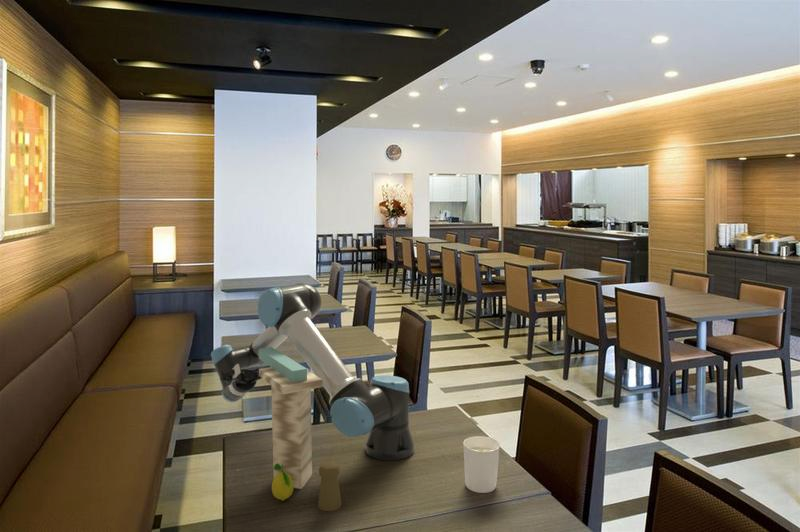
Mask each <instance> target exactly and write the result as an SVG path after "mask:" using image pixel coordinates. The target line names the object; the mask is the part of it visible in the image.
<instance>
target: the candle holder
mask: <svg viewBox="0 0 800 532" xmlns="http://www.w3.org/2000/svg"><path fill="white" fill-rule="evenodd" d="M462 443H463V444H462V445H463V459H464V460H463V464H464V482H465V483H464V484H465V487H466V489H468V490H470V491H472V492H473V493H474V492H475V493H477V494H487V493H491V492H493V491H494V490H496V488H497V482H498V481H497V480H498V470H499V456H500V448H501V445H500V442H499V441H498V440H497V439H494V437H493V438H492V437H489V436H484V435H475V436H470V437H467V438H465V439H464V440H463V442H462Z"/></svg>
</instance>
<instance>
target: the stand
mask: <svg viewBox="0 0 800 532" xmlns="http://www.w3.org/2000/svg"><path fill="white" fill-rule="evenodd" d="M259 376H260V377H261V378H262V379H263V380H264V381H265V382H267V384H269V385H270V386H271V390H270V391H271V424H272V425H271V427H272V465H273V466H272V467H273V474H272V475H273V478H274V477H275V476H276V475H277V474H278V473H281V472H282V469H281V470H275V469H274V466H275V464H277V463H278V464H279V465H280V466H282V464H283V472H285V473H288V474H289V475H290V476H291V478H292V480H293V489H300V490H302V489H303V488H304V486H305V485H306V484H307V483H308V481H309V480H310V479H311V477H312V475H313V454H312V453H313V448H312V447H313V445H312V444H313V442H312V440H313V439H312V391H311V390H313V389H318V388H322V387H323V388H324V386H323V380H322V379H321V378H319V377H318V376H316V375H315V374H314V372H311V371H310V370H308V369H307V380H303V381H298V382H292V381H290V380H289V379H287V378H286V377H284V376H283V375H282V374H280V373H279V372H277V371H276V370H274V369H273V368H272V367H268V368H265V367H262V368H261V369H259ZM262 379H261V380H262Z"/></svg>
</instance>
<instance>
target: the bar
mask: <svg viewBox="0 0 800 532" xmlns="http://www.w3.org/2000/svg"><path fill="white" fill-rule="evenodd" d="M259 359H260V360H262V361H263V362H264V363H265V364H266V365H267V366H270V367H272V368H273V369H274V370H276V371H277V372H279V373H280V374H282V375H283V376H284V377H286V378H287V379H289V380H290V381H292V382H298V381H303V380H307V370H308V369H307V367H305V366H303V365H301V364H300V363H299V362H297V361H295V360H294V359H292V358H290V357H288V356H287V355H286V354H284V353H282V352H280V351H279V350H277V348H276V349H274V348H272V347H268V348H261V349H259ZM264 363H263V364H264Z"/></svg>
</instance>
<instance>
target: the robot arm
mask: <svg viewBox="0 0 800 532" xmlns="http://www.w3.org/2000/svg"><path fill="white" fill-rule="evenodd" d="M321 296H322V295H321V294H320V292H319V291H318V290H317V288H315V287H314V286H312V285H311V284H308V283H296V284H290V285H285V286H279V287H277V286H274V287H272V288H268V289H265V290H264V291H263V292H262V293H261V294H260V296H259V298H258V301H257V315H258V318H259V320H260V322H261V324H262V325H263V326H265V327H267V328H266V329H264V331H263V332H262V333H260V335H258V337H256V339H255V340H253V342H251V343H250V344H249V345H247V346H243V347H239V348H236V349H234V348H233V347H232V346H231V344H224V345H221V346H219V347H216V348H214V349H213V350H212V351H211V353H210V357H211V360H212V363H213V365H214V368H215V370H216V373H217V375H218V377H219V381H220V383H221V387H222V389H221V396H222V398H223V399H224V400H225V401H227V402H228V403H236V402H238V401H239V400H241V399H243V398H244V397H245V395H247V394H248V393H249V392H250V391H251V390H252V389H254V388H255V386H256V384H257V381H260V380H262V378H261V377H260V376H259V369H262V368H259V367H258V368H256V369H249V368H251V367H255V366H257V365H262V364H264V362H263V361H262V360H260V359H259V349H261V348H268V347H272V348H274V349H276V350H277V349H278V347H279V346H281V344H283V342H285V341H286V340H287V339H289V341H290V342H291V343H292V345H293V346H294V348H295V349H296V350H297V351H298V353H299V354H300V356H301V357H302V358H303V361H305V363H306V364H307V365H308V367H309V368H310V370H311V371H312V373H313V374H314V375H316V376H318V377H319V378H321V379H322V380H323V388H324V390H326V392H327V393H328V395H329V401H328V404H329V406H330V411H329V414H330V416H331V418H330V419H331V422H332V425H333V426H334V428H336V430H337V431H338V432H339V433H340V434H341V435H343V436H345V437H347V438H358V437H361V436H365V435H367V437H366V441H365V452H366V454H367V455H368V456H369V457H371V458H374V459H375V460H379V461H391V462H392V461H400V460H403V459H406V458H409V457H410V456H412V455H413V454H414V453H415V441H414V438H413V435H412V432H411V428H410V387H409V382H408V381H407V379H405V378H403V377H400V376H396V375H387V374H386V375H375V376H373V377H371V381H370V386H367V385H366V383H365V382H364V381H363V379H362V378H357V377H354V376H353V375H352V373H351V372H350V370H349V369H348V368H347V367H346V365H345V364H344V363H343V361H342V360H341V358H340V357H339V355H337V353H336V352H335V350H334V349H333V347H332V346H331V345H330V344H329V342H328V341H327V340H326V339H325V337H324V336H323V334H322V333H321V332H320V330H319V329H318V328H317V327H316V325H315V324H314V322H313V321H312V320H313V319H314V318H315V317H316V316H317V315H318V313H319V312H320V310H321V306H322V297H321ZM268 367H270V366H269V365H267V366H265V367H264V368H268Z"/></svg>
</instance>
